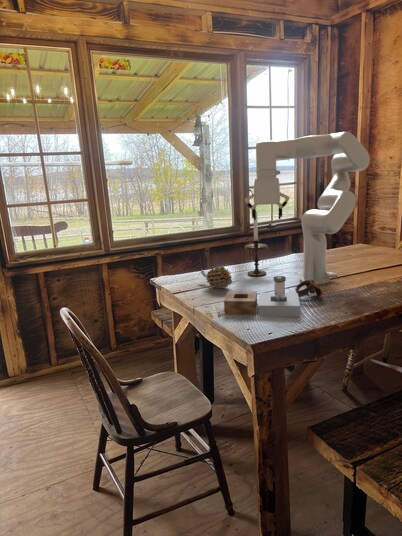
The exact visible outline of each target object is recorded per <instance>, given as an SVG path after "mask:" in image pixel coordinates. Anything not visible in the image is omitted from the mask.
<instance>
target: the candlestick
mask: <svg viewBox="0 0 402 536" xmlns="http://www.w3.org/2000/svg"><path fill="white" fill-rule="evenodd" d="M255 210H256V220H254V218H253V219H252V220H253V239H251V241H252V242H253V243H249V244H248V243H247V244H246V245H244V249H245V250H249V251H251V250H252V251H254V258H253V261H254V263H253V266H255V267H254V268H255V269H253V270H250V271H247V276H248V277H253V278H260V277H261V278H262V277H264V276H267V272H266V271H265V270H262V269H261V270H259V266H260V264H259V261H260V258H259V256H258V255H259V254H258V253H259V251H260V250H265V249H268V244H266V243H261V242H259V241H261V239H259V232H258V231H259V228H258V224H259V223H258V211H257V206H256V207H255Z"/></svg>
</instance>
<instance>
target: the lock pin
mask: <svg viewBox="0 0 402 536" xmlns="http://www.w3.org/2000/svg"><path fill="white" fill-rule="evenodd" d="M286 280H287V277H286V276H284V275H276V276H274V277H273V282H274V284H273V285H274V293H275V302H285V293H286Z"/></svg>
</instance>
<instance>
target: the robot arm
mask: <svg viewBox="0 0 402 536" xmlns="http://www.w3.org/2000/svg"><path fill="white" fill-rule="evenodd" d="M328 156H332V159H331V161H330V162H331V163H330V166H331V168H330V169H331V175H332V177H331V180H330V182H329V184H328V185H327V186H326V188H325V190H324V191H323V192H322V194H321V195H320V197H319V198H318V201H317V208H318V209H317V208H316V209H313V208H312V209H309V210H306V211H305V212H304V213H303V215H302V216H301V223H300V224H301V227H302V228H301V229H302V235H303V276H300V278H299V282H300V283H301V282H303V281H306V280H313V281H314V282H315V283H316V284H317V285H318V286H319V285H325V284H328V283H330V278H335V279H336V278H338V272H333V271H331V272H328V270H327V245H328V244H327V237H326V235H325V234H328V235H333V234H336V233H337V232H338V231H340V230H341V229H342V227H343V225H344V224H345V223H346V222H347V220H348V219H349V217H350V216H351V215H352V212H353V211H354V209H355V207H356V204H357V203H356V202H357V200H356V199H357V198H356V195H355V194H354V193H353V192H352V191H350V189H351V179H350V176H349V173H351V172H362V171H364V170H367V168H368V167H369V166H370V162H371V159H370V154H369V152H368V151H367V149H366V148H365V147H364V146H363V145H362V143H361V142H360V141H359V140H358V138H357V137H356V136H355V135H354V134H352V133H351V132H350V131H340V132H334V133H328V134H327V133H326V134H325V133H324V134H317V135H307V136H302V137H298V138H293V139H286V138H285V139H280V140H271V139H269V140H260V141H257V142H256V145H255V159H256V160H255V162H256V165H255V166H256V169H255V170H256V178H255V179H254V180H253V181H254V182H253V194H250V195H248V196H247V197H245V198H244V202H245V203H246V206H247V207H248V208H249V209H251V218H254V219H253V221H254V220H256V212H257V209H256V210H255V207H256V208H257V206H259V205H260V206H261V205H262V206H264V205H277V206H278V220H282V219H281V218H282V217H283V208H284V207H285V206H286V205H287V204H288V202H289V201H290V198H291V197H290V196H289V195H287V194H285V193H283V192H281V188H280V180H279V177H277V176H278V175H281V171H280V170H277V162H279V161H287V160H294V159H297V160H298V159H303V160H304V159H312V158H319V157H320V158H321V157H328ZM281 198H283V199H284V201H283V202H282V203H281ZM251 199H253V204H252V203H250V200H251Z"/></svg>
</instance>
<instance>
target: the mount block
mask: <svg viewBox="0 0 402 536" xmlns="http://www.w3.org/2000/svg"><path fill="white" fill-rule="evenodd" d="M223 307H224V309H223V310H224V315H236V316H237V315H240V316H241V315H244V316H245V315H248V316H249V315H250V316H251V315H252V316H256V315H257V310H258V292H257V291H249V290H247V291H231V290H230V291H227V293H226V295H225V298H224V300H223Z"/></svg>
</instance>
